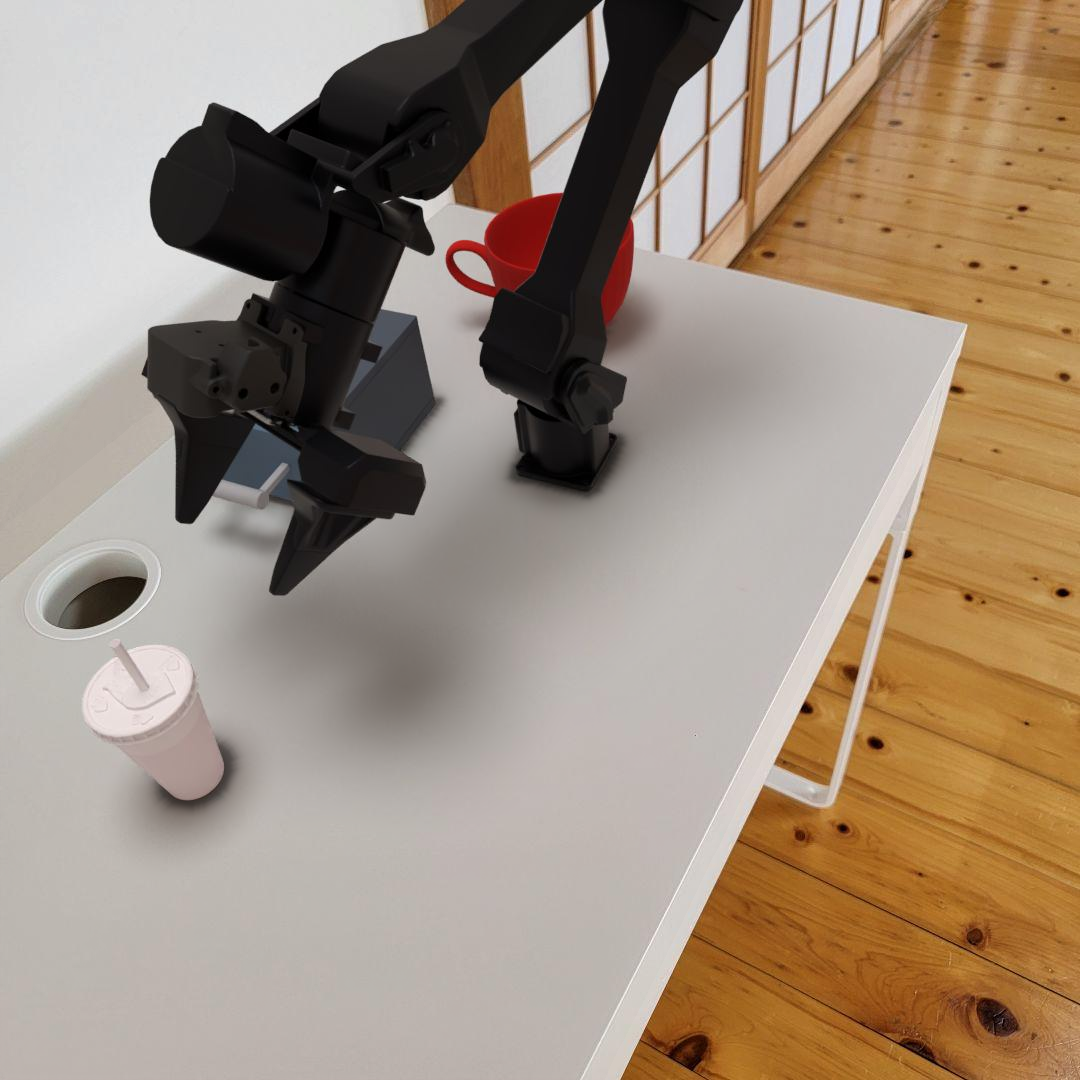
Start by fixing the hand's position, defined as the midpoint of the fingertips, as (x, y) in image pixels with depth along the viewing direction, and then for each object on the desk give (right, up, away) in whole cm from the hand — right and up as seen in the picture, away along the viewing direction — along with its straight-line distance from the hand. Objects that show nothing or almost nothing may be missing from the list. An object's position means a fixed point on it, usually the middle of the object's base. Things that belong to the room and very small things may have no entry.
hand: (228, 557), depth 58 cm
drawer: (-2, +7, +24) cm, 25 cm away
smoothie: (-4, -14, +6) cm, 16 cm away
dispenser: (0, +10, +28) cm, 29 cm away
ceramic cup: (+19, +21, +36) cm, 45 cm away
